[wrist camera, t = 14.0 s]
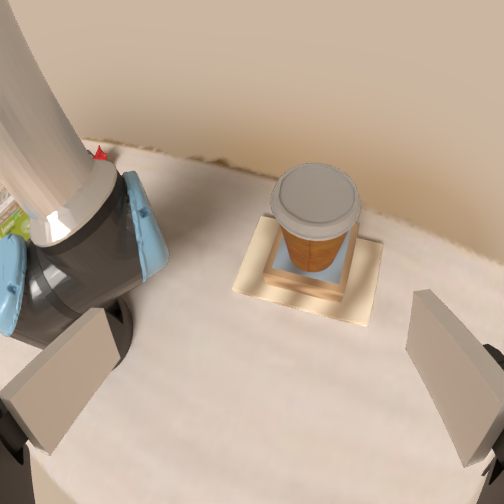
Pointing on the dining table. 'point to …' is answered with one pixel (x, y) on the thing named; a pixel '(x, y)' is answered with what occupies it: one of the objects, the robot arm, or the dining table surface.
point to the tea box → (13, 217)
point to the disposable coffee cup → (315, 213)
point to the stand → (311, 275)
